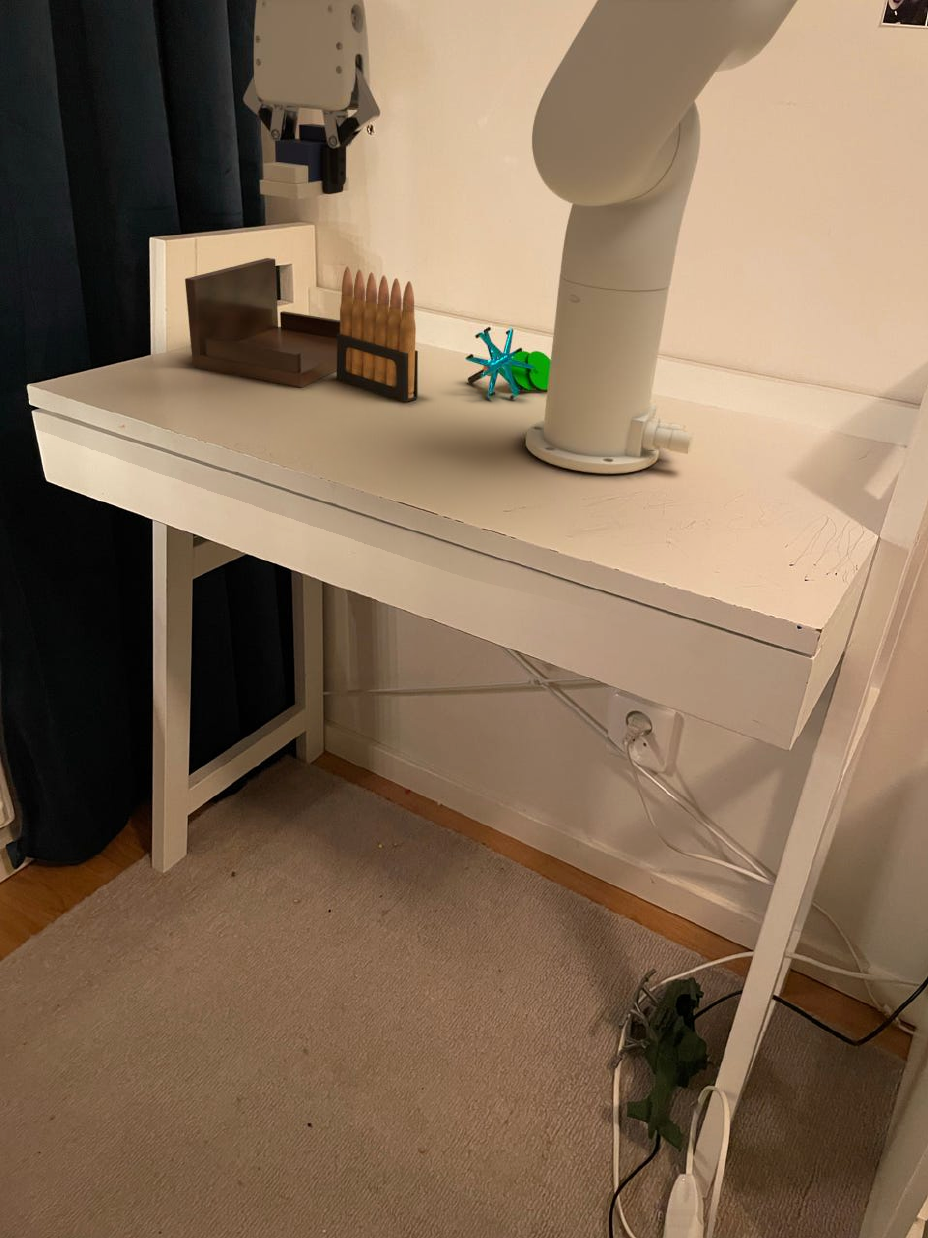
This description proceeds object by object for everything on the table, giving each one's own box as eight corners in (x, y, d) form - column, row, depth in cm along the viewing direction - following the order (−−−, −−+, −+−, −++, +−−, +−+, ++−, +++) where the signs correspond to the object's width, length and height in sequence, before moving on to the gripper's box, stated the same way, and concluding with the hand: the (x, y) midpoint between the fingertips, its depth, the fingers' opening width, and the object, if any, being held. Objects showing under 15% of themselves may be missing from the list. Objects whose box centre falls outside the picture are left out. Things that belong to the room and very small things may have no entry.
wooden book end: (270, 337, 117) (266, 257, 112) (369, 354, 113) (370, 272, 108) (192, 366, 104) (184, 278, 99) (301, 387, 100) (298, 296, 95)
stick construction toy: (482, 385, 97) (477, 314, 98) (443, 407, 102) (438, 340, 103) (566, 404, 104) (561, 338, 105) (526, 424, 109) (521, 360, 110)
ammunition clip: (418, 399, 99) (422, 281, 93) (406, 402, 98) (409, 283, 92) (347, 376, 105) (347, 264, 99) (335, 379, 103) (334, 265, 97)
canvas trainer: (313, 185, 95) (312, 123, 92) (348, 189, 94) (348, 127, 91) (260, 193, 87) (257, 126, 84) (297, 199, 85) (296, 130, 83)
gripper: (413, -29, 82) (405, 196, 92) (250, -39, 87) (258, 177, 96) (376, -39, 76) (371, 204, 86) (202, -49, 81) (216, 182, 90)
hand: (311, 187), depth 91 cm, fingers closed on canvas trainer, 4 cm apart
